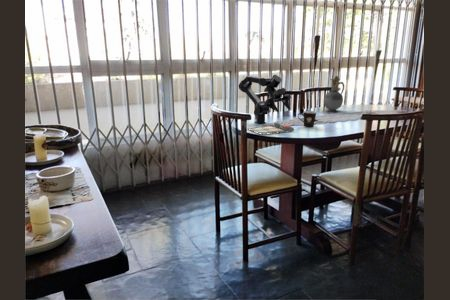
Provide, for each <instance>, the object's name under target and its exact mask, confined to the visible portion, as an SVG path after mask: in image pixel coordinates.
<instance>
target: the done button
mask: <svg viewBox="0 0 450 300" xmlns="http://www.w3.org/2000/svg"><path fill="white" fill-rule="evenodd" d="M283 128H285V129H289V128H291V125H290V124H283Z"/></svg>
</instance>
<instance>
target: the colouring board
mask: <svg viewBox="0 0 450 300" xmlns="http://www.w3.org/2000/svg"><path fill="white" fill-rule="evenodd" d="M248 129H250V130H252V131H255V132H258V133H261V134H267V133H275V134H278V133H277V132H283V133H285V132H284V130H281V129H280V128H278V127H275V126H274V125H273V126H272V125H266V126H265V125H263V126H256V127H248V128H247V130H248ZM252 131H251V132H252Z"/></svg>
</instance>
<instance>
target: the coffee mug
mask: <svg viewBox="0 0 450 300" xmlns="http://www.w3.org/2000/svg"><path fill="white" fill-rule="evenodd" d="M300 115H301V116H302V117H303V119H301V118H300V117H299V116H300ZM316 115H317V112H316V111H313V110H312V111H311V110H304V111H303V113H298V114H297V118H298V119H299V120H300V121H301V122H302V123H303V127H304V126H305V128H314V127H315V121H316Z"/></svg>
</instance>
